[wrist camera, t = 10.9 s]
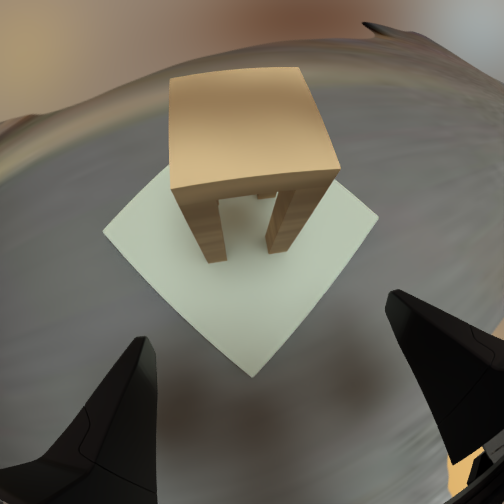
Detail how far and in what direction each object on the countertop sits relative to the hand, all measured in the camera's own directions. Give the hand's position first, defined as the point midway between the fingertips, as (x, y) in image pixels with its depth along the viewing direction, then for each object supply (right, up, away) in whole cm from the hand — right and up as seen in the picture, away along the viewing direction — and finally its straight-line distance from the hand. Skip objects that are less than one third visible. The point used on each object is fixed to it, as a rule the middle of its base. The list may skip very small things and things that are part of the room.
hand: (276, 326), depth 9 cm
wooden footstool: (-1, +5, +9) cm, 10 cm away
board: (-1, +4, +10) cm, 11 cm away
